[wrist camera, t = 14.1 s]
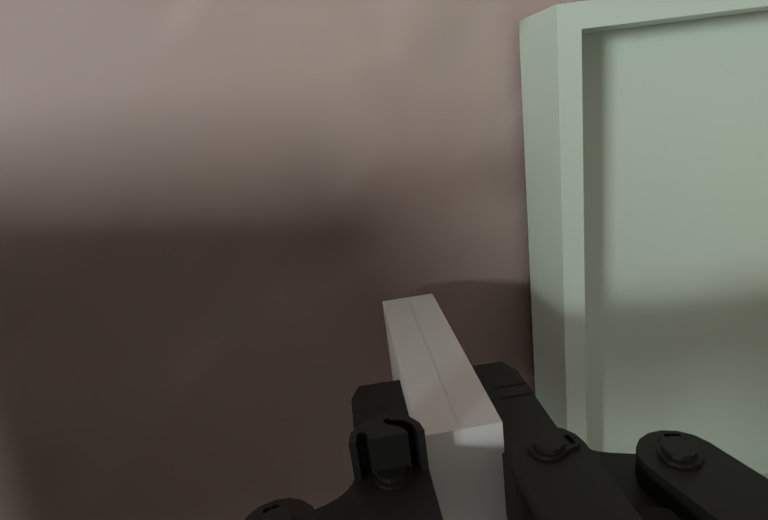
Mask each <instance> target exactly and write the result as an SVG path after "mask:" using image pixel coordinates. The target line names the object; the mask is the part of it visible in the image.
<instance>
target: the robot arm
mask: <svg viewBox="0 0 768 520" xmlns="http://www.w3.org/2000/svg"><path fill="white" fill-rule="evenodd" d="M382 304H383V311H384V318H385V326H386V333H387V340H388V348H389V355H390V363H391V370H392V377H393V381H389V382H383V383H377V384H371V385H365V386H359V388H358V389H357V391H356V393H355V394H354V396H353V398H352V412H353V425H354V431H353V432H352V433H351V435H350V439H349V448H350V454H351V460H352V466H353V472H354V477H355V479H354V482H353V484H352V485H351V486H350V488H349V489H348V490H347V491H346V492H345V493H344V494H343V495H342V496H340V497H339V498H338V499H336V500H334V501H332V502H331V503H329V504H327V505H325V506H322V507H320V508H318V509H315V510H314V508H313V506H311V505H310V504H308V503H307V502H305V501H303V500H299V499H293V498H286V499H279V500H274V501H272V502H269V503H267V504H265V505H262V506H260V507H259V508H257V509H256V510H255V511H253V512H252V513H251V514H250V515H248V516H247V517H246V519H245V520H768V478H766V477H764V476H763V475H761V474H760V473H758V472H756V471H755V470H753V469H752V468H750V467H748V466H747V465H745V464H743V463H742V462H740V461H739V460H737V459H735V458H734V457H732V456H731V455H729V454H727V453H726V452H724V451H723V450H721V449H719V448H718V447H716V446H715V445H713V444H711V443H710V442H708V441H706V440H704V439H702V438H699V437H697V436H695V435H692V434H688V433H684V432H680V431H669V430H660V431H655V432H650V433H647V434H646V435H644V436H643V437H641V438H640V439H639V441H638V443H637V446H636V454H628V453H610V452H601V451H595V450H591V449H590V448H589V447H588V446H587V444H586V443H585V442H584V441H583V440H582V439H581V438H580V437H579V436H577V435H576V434H575V433H572V432H570V431H568V430H566V429H563V428H558V427H557V426H556V425H555V423H554V422H553V421H552V419H551V418H550V416H549V415H548V413H547V412H546V411H545V409H544V408H543V406H542V405H541V404H540V402H539V401H538V399H537V398H536V396H535V395H533V392H532V391H531V389H530V388H529V387H528V385H526V382H525V381H524V379H523V378H522V377H521V375H520V374H519V372H518V371H517V370H515V369H514V368H512V367H510V366H509V365H507V364H505V363H503V362H496V363H489V364H483V365H477V366H471V364H470V362H469V360H468V358H467V356H466V355H465V353H464V351H463V349H462V347H461V345H460V344H459V342H458V340H457V338H456V336H455V334H454V332H453V331H452V329H451V327H450V325H449V323H448V321H447V320H446V318H445V316H444V314H443V312H442V310H441V309H440V307H439V305H438V303H437V301H436V299H435V298H434V296H433V294H426V295H419V296H413V297H406V298H400V299H393V300H387V301H382Z"/></svg>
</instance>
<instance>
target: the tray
mask: <svg viewBox="0 0 768 520" xmlns="http://www.w3.org/2000/svg"><path fill="white" fill-rule="evenodd" d="M519 39H520V62H521V84H522V106H523V128H524V151H525V173H526V195H527V218H528V240H529V262H530V285H531V307H532V329H533V351H534V374H535V396H536V398H537V399H538V401H539V402H540V404H541V405H542V406H543V408H544V409H545V411H546V412H547V413H548V415H549V416H550V418H551V419H552V421H553V422H554V423H555V425H556V426H557V427H558V428H563V429H566V430H568V431H570V432H572V433H575V434H576V435H577V436H579V437H580V438H581V439H582V440H583V441H584V442H585V443H586V444H587V446H588V447H589V448H590V449H591V450H595V451H601V452H610V453H628V454H636V446H637V443H638V441H639V439H640V438H641V437H643V436H644V435H646V434H647V433H650V432H655V431H660V430H669V431H680V432H684V433H688V434H692V435H695V436H697V437H699V438H702V439H704V440H706V441H708V442H710V443H711V444H713V445H715V446H716V447H718V448H719V449H721V450H723V451H724V452H726V453H727V454H729V455H731V456H732V457H734V458H735V459H737V460H739V461H740V462H742V463H743V464H745V465H747V466H748V467H750V468H752V469H753V470H755V471H756V472H758V473H760V474H761V475H763V476H764V477H766V478H768V0H589V1H581V2H573V3H564V4H556V5H554V6H552V7H550V8H547V9H545V10H543V11H540V12H538V13H536V14H533V15H531V16H529V17H526V18H524V19H522V20H519Z"/></svg>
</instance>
